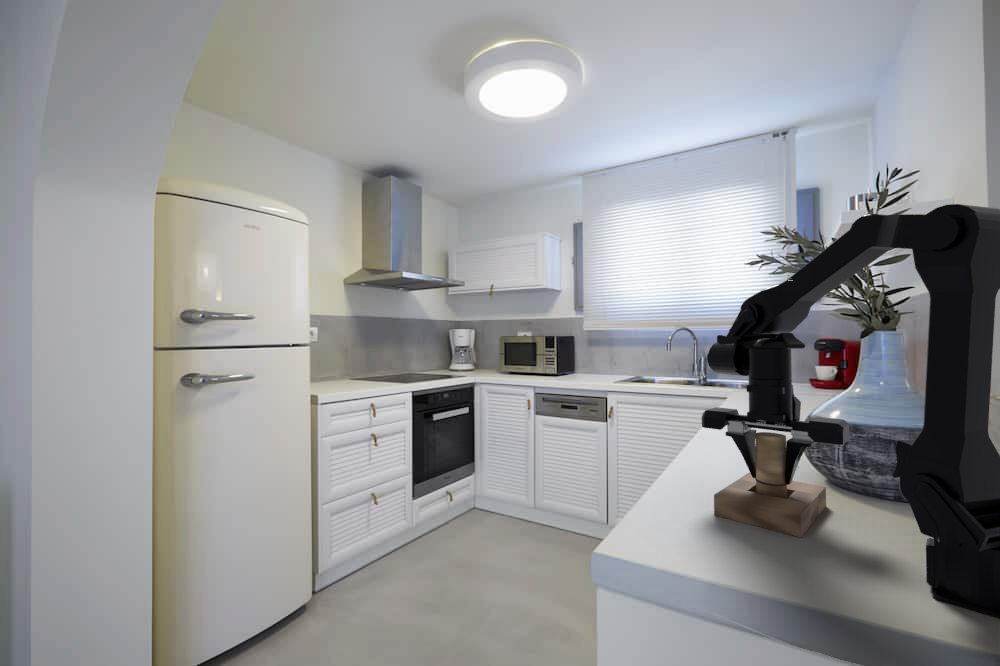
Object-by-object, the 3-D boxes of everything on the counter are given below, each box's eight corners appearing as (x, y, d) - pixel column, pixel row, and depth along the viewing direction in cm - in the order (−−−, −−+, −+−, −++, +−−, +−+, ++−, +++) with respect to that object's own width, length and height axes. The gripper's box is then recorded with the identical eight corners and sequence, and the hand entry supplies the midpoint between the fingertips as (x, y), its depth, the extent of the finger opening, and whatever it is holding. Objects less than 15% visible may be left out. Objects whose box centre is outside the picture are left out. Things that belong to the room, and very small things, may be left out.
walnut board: (826, 506, 71) (825, 486, 71) (800, 537, 60) (800, 514, 60) (749, 489, 79) (749, 472, 79) (714, 514, 68) (713, 494, 68)
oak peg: (791, 500, 69) (790, 434, 69) (783, 507, 66) (782, 439, 66) (760, 494, 72) (759, 431, 72) (752, 500, 69) (750, 434, 69)
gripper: (854, 378, 69) (857, 482, 68) (724, 372, 82) (726, 459, 82) (841, 383, 61) (843, 500, 60) (699, 376, 74) (701, 472, 74)
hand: (771, 480), depth 69 cm, fingers closed on oak peg, 4 cm apart
